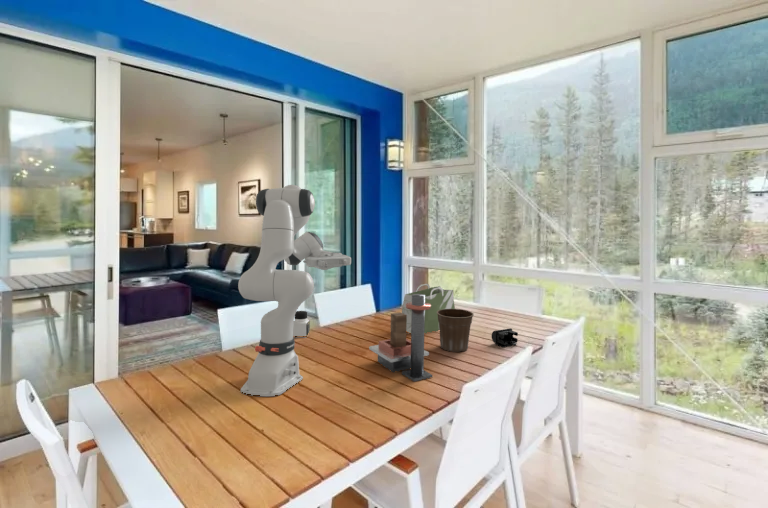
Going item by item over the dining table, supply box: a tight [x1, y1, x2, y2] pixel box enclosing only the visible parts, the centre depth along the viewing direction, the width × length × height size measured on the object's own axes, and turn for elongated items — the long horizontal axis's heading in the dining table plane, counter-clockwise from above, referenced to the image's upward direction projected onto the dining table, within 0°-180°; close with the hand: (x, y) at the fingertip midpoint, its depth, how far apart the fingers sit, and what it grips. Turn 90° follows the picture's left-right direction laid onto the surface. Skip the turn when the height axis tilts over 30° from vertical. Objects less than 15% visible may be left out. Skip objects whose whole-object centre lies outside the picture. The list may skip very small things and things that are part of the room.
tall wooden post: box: [389, 312, 407, 348], centre depth 157 cm, size 4×4×14 cm
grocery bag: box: [401, 283, 456, 334], centre depth 212 cm, size 32×14×23 cm, turn 131°
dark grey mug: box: [491, 328, 519, 348], centre depth 186 cm, size 10×7×7 cm
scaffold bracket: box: [368, 294, 433, 382], centre depth 153 cm, size 26×17×30 cm, turn 30°
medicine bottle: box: [293, 310, 311, 337], centre depth 196 cm, size 7×7×12 cm
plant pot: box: [437, 308, 474, 353], centre depth 179 cm, size 16×16×16 cm
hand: (335, 263), depth 173 cm, fingers open, 8 cm apart
